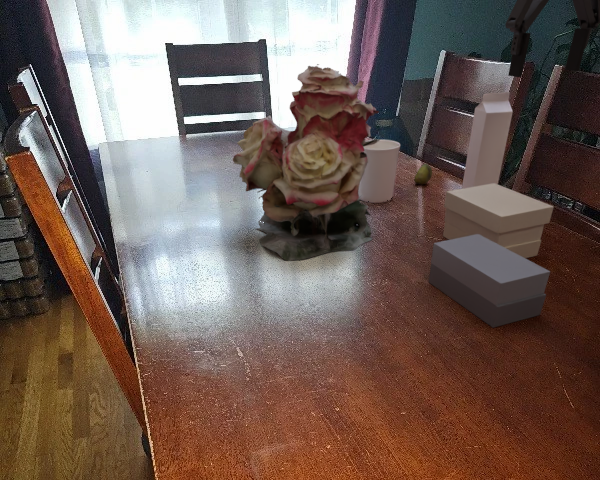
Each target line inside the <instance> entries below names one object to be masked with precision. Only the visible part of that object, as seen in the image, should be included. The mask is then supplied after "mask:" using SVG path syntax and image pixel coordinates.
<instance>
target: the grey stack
mask: <svg viewBox="0 0 600 480" xmlns="http://www.w3.org/2000/svg"><path fill="white" fill-rule="evenodd" d="M550 275H551V270H549V269H547V268H545V267H543V266H541V265H539V264H537V263H535V262H533V261H531V260H530V259H528V258H523V257H522V256H520V255H518V254H516V253H514V252H512V251H510V250H508V249H506V248H504V247H502V246H500V245H499V244H497V243H495V242H493V241H491V240H489V239H487V238H485V237H483V236H481V235H479V234H475V235H471V236H466V237H461V238H456V239H451V240H449V239H446V240H441V241H437V242H433V246H432V252H431V260H430V269H429V278H428V284H431V285H432V286H433V287H434V288H436V289H437V290H439V291H440V292H442V293H443V294H444V295H446V296H447V297H449V298H450V299H451V300H453V301H455V302H456V303H457V304H458V305H460V306H461V307H463V308H464V309H466V310H467V311H468V312H470V313H471V314H473V315H474V316H475V317H477V318H478V319H480V320H482V321H483V322H484V323H486V324H487V325H488V326H489V327H491V328H493V329H494V328H496V327H501V326H505V325H508V324H512V323H516V322H519V321H523V320H526V319H530V318H534V317H538V316H541V314H542V310H543V306H544V304H545V300H546V297H547V294H546V293H545V291H546V287H547V285H548V281H549V277H550Z"/></svg>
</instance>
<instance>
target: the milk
mask: <svg viewBox="0 0 600 480" xmlns="http://www.w3.org/2000/svg"><path fill="white" fill-rule="evenodd" d="M510 94H511V93H510V91H506V92H504V91H503V92H488V93H484V94H483V95H482V99H481V102H480V103H479V104H478V105H477V106H476V107H475V108H474V112H473V119H472V124H471V130H470V136H469V142H468V148H467V155H466V161H465V165H464V166H465V168H464V173H463V180H462V186H461V189H464V188H470V187H475V186H481V185H487V184H493V183H495V184H498V185H499V179H500V176H501V171H502V166H503V161H504V156H505V152H506V146H507V142H508V136H509V132H510V127H511V124H512V123H511V122H512V117H513V113H514V111H513V108H512V106H511V103H510V101H509V100H510V96H511V95H510Z"/></svg>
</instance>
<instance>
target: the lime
mask: <svg viewBox="0 0 600 480" xmlns="http://www.w3.org/2000/svg"><path fill="white" fill-rule="evenodd" d="M432 176H433V169H432V167H431V165H429V164H428V163H423V164H422V165H421V166H420V167H419V168H418V170H417V172H416V174H415V176H414V180H413V182H414V183H415V184H417V185H425V184H427V183H428V182H429V181H431V179H432Z"/></svg>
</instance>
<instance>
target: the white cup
mask: <svg viewBox="0 0 600 480" xmlns="http://www.w3.org/2000/svg"><path fill="white" fill-rule="evenodd" d="M371 140H372V139H368V140H365V142H368V141H369V142H370V141H371ZM378 140H379V139H378ZM400 149H401V143H400V142H398V141H395V140H393V139H392V140H391V139H380V140H379V141H378V142H377V143H375V144H372V145H368V146H364V150H365V151H363V152H364V153H365V154H367V158H368V163H367V166H366V168H365V172H364V174H363V176H362V179H361V182H360V185H359V190H358V192H359V197H360V196H361V195H362V196H361V197H360V199H359V200H360V201H362V202H364V203H370V204H381V203H387V202H390V201H391V200H392V199H393V198H392V197H394V193H395V192H394V191H395V185H396V179H397V170H398V163H399V157H400ZM391 198H392V199H391ZM387 200H388V201H387ZM368 201H369V202H368ZM383 201H384V202H383Z"/></svg>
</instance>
